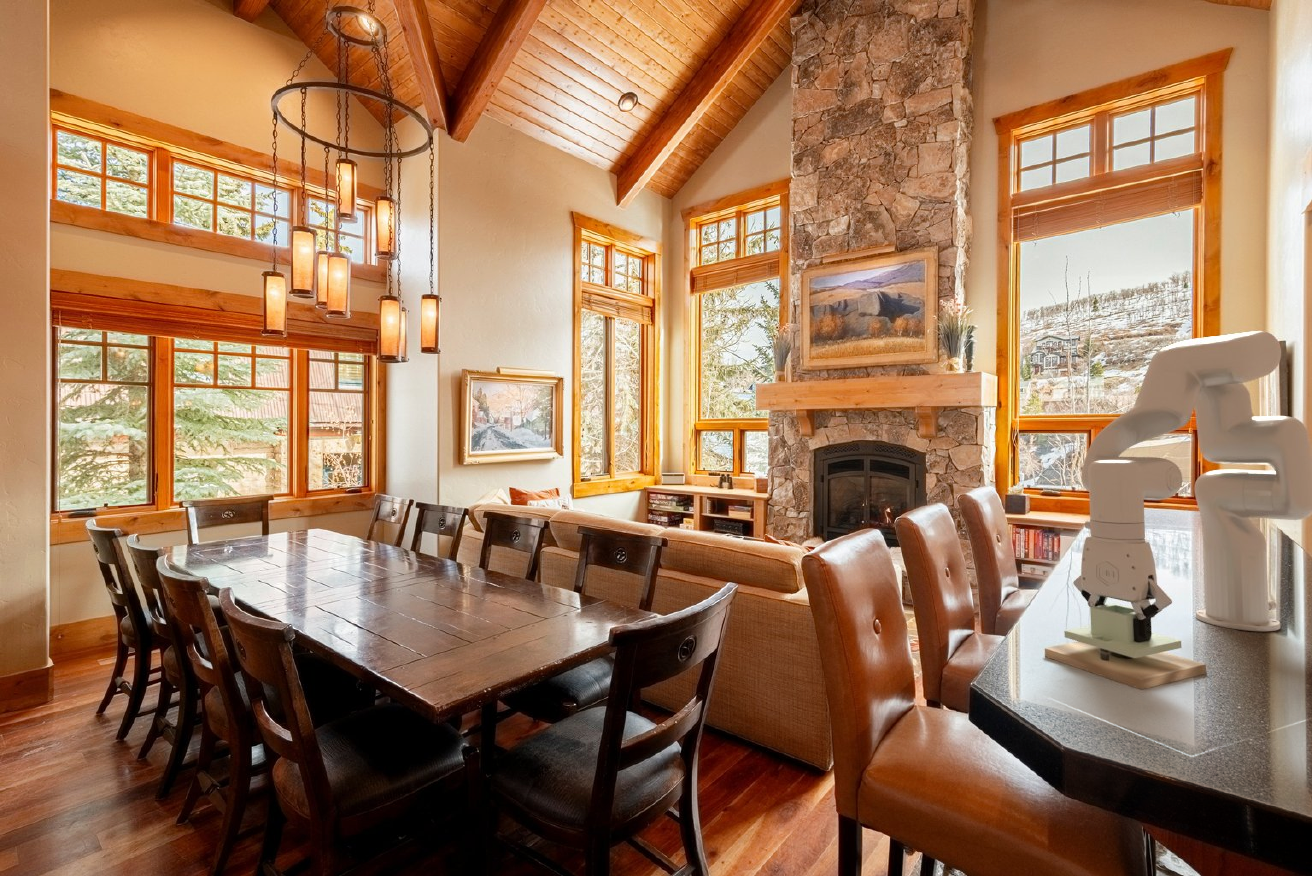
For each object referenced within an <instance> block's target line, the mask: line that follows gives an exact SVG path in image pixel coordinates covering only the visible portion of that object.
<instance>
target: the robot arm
mask: <svg viewBox="0 0 1312 876" xmlns="http://www.w3.org/2000/svg"><path fill="white" fill-rule="evenodd" d="M1281 358H1282V348H1281V344H1280V342H1279V340H1278V339H1277V338H1276V336H1274V334H1272V333H1270V332H1267V331H1264V330H1258V331H1248V332H1241V333H1233V334H1227V335H1218V336H1208V337H1200V338H1193V339H1188V340H1183V341H1179V342H1176V343H1172V344H1170V345H1168V346H1166V347H1165V346H1164V347H1163V348H1161V349H1160V350H1159V349H1158V351H1157V352H1155V353H1154V354H1153V356H1152V357H1151V359H1150V363H1149V365H1148V367H1147V370H1146V372H1145V376H1144V378H1143V380H1142V383H1141V386H1140V389H1139V391H1138V394H1137V396H1136V399H1135V403H1134V405H1133V407H1132V408H1130V409H1129V410H1127V411H1126V412H1124V413H1122V414H1121V415H1119V416H1118V417H1117V418H1115V419H1114V420H1112V421H1111V422H1110V423H1109V424H1108V425H1106V426H1105V427H1104V428H1103V429H1102V430H1100V431H1099V432H1098V433H1097V435H1096V436H1095V437H1094V438H1093V440H1092V442H1091V444H1090V445H1089V448H1088V451H1087V453H1086V456H1085V459H1084V462H1083V465H1082V468H1081V482H1082V485H1083V487H1084V489H1085V490H1086V491H1087V492H1089V493H1088V494H1089V517H1090V519H1089V520H1087V521H1085V522H1084V528H1085V529H1087V530H1090V531H1089V533H1090V535H1087V536H1086V537H1085V539H1084V544H1083V548H1082V554H1081V567H1080V568H1081V569H1080V575H1079V576H1078V577H1077V578H1076V579H1075V580H1074V581H1073V582H1072V583H1073V586H1074V587H1075V588H1076V589H1077V590H1078V592H1079V593H1080V594H1081V596H1082V597H1083V598H1084V600H1085V601H1086V602H1087V606H1088V607H1089V608H1090V607H1094V606H1100V605H1106V604H1107V600H1108V598H1110V599H1114V600H1119V601H1124V602H1127V603H1130V604H1131V607H1133V609H1134V611H1135V614H1136V616H1137V618H1134V619H1133V629H1134V641H1135V642H1138V643H1140V642H1145V641H1149V640H1150V637H1151V635H1152V618H1155V616H1156V615H1158V614H1159V613H1161V612H1162V611H1163V610H1164V609H1165V608H1168V607H1169V606H1170V605H1172V604H1173V600H1172V599H1171V598H1170V596H1169V595H1168V594H1167V593H1166V592H1165V591H1164V590H1163V589H1162V588H1161V587H1160V586H1159V584H1158V578H1157V571H1156V562H1155V558H1154V554H1153V551H1152V547H1151V544H1150V541H1147V540H1146V531H1145V530H1146V528H1145V527H1146V524H1145V503H1144V500H1147V501H1151V500H1152V501H1161V500H1167V499H1169V498H1172V497H1173V496H1175V495H1176V494H1177V493H1178V492H1179V491H1180V489H1181V487H1182V484H1183V473H1182V471H1181V469H1180V467H1179V466H1178V465H1177V464H1176V463H1175V462H1174V461H1171V460H1169V459H1167V458H1163V457H1158V456H1157V457H1153V456H1150V457H1149V456H1120V455H1121V454H1123V453H1124V452H1125V451H1126V450H1128V449H1129V448H1132V447H1133V446H1135V445H1137V444H1140V443H1142V442H1145V441H1147V440H1152V439H1154V438H1157V437H1160V436H1163V435H1167V434H1169V433H1171V432H1175V431H1177V430H1179V429H1181V428H1183V427H1185V426H1186V425H1187V424H1188V423H1189V422H1190V420H1191V419H1192V415H1193V412H1194V413H1195V414H1194V415H1195V419H1196V420H1195V422H1196V430H1197V439H1198V445H1199V450H1200V453H1201V456H1202V458H1203V459H1205V460H1206V461H1207V462H1210V463H1213V464H1214V463H1215V464H1221V465H1258V466H1259V465H1260V466H1261V465H1262V466H1263V465H1265V466H1267V465H1268V466H1271V467H1272V468H1273V470H1254V469H1216V470H1210V471H1207V472H1204V473H1202V474H1201V475H1200V476H1198V478H1197V479H1196V481H1195V484H1194V495H1195V499H1196V504H1197V507H1198V511H1199V512H1198V513H1199V516H1200V522H1201V532H1202V534H1201V535H1202V551H1203V552H1202V554H1203V555H1202V557H1203V560H1202V561H1203V584H1204V585H1203V586H1204V608H1203V609H1199V610H1196V611H1195V618H1196V619H1198V620H1199V621H1201V622H1203V623H1206V624H1208V625H1212V626H1216V627H1220V628H1221V627H1222V628H1226V629H1231V630H1240V631H1247V632H1248V631H1249V632H1273V631H1278V630H1280V629H1281V622H1280V621H1279V620H1277V619H1276V618H1273V617H1270V612H1269V611H1273V610H1276V609H1277V607H1278V606H1277V603H1276V602H1275V601H1273V600H1271V599H1269V585H1268V583H1269V582H1268V581H1269V580H1268V557H1267V541H1266V537H1265V536H1264V534H1263V531H1261V529H1260V528H1258V526H1257V525H1256V524H1255V523H1254V522H1253V521H1252V520H1251V518H1252V519H1253V518H1258V519H1269V520H1270V519H1273V520H1286V521H1298V520H1303V519H1307V518H1309V517H1311V515H1312V444H1311V438H1310V434H1309V431H1308V429H1307V427H1306V426H1305V424H1304V423H1303V422H1302V421H1300V420H1299V419H1297V418H1295V417H1291V416H1289V415H1288V416H1285V415H1271V416H1270V415H1268V416H1266V415H1265V416H1255V414H1254V413H1253V409H1252V402H1251V394H1250V391H1249V389H1248V388H1247V387H1246V385H1244V383H1248V382H1251V381H1255V380H1258V379H1260V378H1263V377H1266V376H1268V375H1270V374H1271V373H1273V372H1274V371H1275V370H1276V368H1278V366H1279V363H1280V361H1281ZM1151 600H1154V602H1153V603H1152V604H1151V602H1150V601H1151Z"/></svg>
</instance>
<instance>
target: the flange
mask: <svg viewBox="0 0 1312 876" xmlns="http://www.w3.org/2000/svg"><path fill="white" fill-rule="evenodd" d="M1089 608H1090V609H1089V611H1090V612H1089V613H1090V625H1086V626H1081V627H1075V628H1071V629H1066V630H1064V632H1063V633H1064V638H1066V639H1069V640H1072V641H1074V642H1078V641H1079V642H1082V643H1085V644H1089V645H1092V646H1095V647H1099V648H1102V649H1105V650H1109V651H1112V652H1115V653H1119V654H1122V655H1125V656H1129V657H1132V658H1138V657H1143V656H1147V655H1152V654H1156V653H1161V652H1165V653H1166V652H1170V651H1174V650H1179V649H1182V640H1180V639H1175V638H1172V637H1169V636H1165V635H1162V634H1157V633H1152V635H1151V637H1150V640H1149V641H1145V642H1140V643H1138V642H1135V641H1134V629H1133V619H1134V618H1137V616H1136V614H1135V611H1134V609H1133V607H1132V606H1127V605H1123V604H1118V603H1115V602H1111V603H1105V605H1100V606H1094V607H1089Z"/></svg>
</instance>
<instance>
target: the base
mask: <svg viewBox="0 0 1312 876" xmlns="http://www.w3.org/2000/svg"><path fill="white" fill-rule="evenodd" d="M1044 657H1046V658H1048V659H1051V660H1054V661H1057V662H1060V663H1063V664H1066V665H1069V666H1072V667H1073V668H1078V669H1080V670H1083V671H1087V672H1089V673H1092V674H1096V675H1098V676H1101V677H1103V678H1107V679H1110V680H1113V681H1116V682H1118V683H1122V684H1124V685H1127V686H1130V687H1133V688H1136V689H1139V690H1145V689H1149V688H1153V687H1156V686H1157V687H1158V686H1161V685H1165V684H1170V683H1172V682H1177V681H1181V680H1185V679H1188V678H1193V677H1197V676H1201V675H1205V674H1207V663H1203V662H1201V661H1200V662H1199V661H1196V660H1193V659H1190V658H1185V657H1182V656H1179V655H1174V654H1171V653H1168V652H1166V651H1165V652H1161V653H1156V654H1152V655H1147V656H1143V657H1138V658H1131V659H1123V658H1117V657H1114V656H1112V655H1111V651H1109V661H1105V660H1101V658H1100V648H1099V647H1095V646H1092V645H1089V644H1085V643H1082V642H1079V641H1073V642H1069V643H1063V644H1059V645H1052V646H1049V647H1048V646H1047V647H1044Z"/></svg>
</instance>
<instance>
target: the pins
mask: <svg viewBox="0 0 1312 876" xmlns="http://www.w3.org/2000/svg"><path fill="white" fill-rule="evenodd" d="M1111 655H1112V656H1114V657H1117V658H1123V659H1131V658H1132V657H1129V656H1125V655H1122V654H1119V653H1115V652H1112V651H1111ZM1100 658H1101V660H1105V661H1109V650H1105V649H1102V648H1100Z"/></svg>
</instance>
